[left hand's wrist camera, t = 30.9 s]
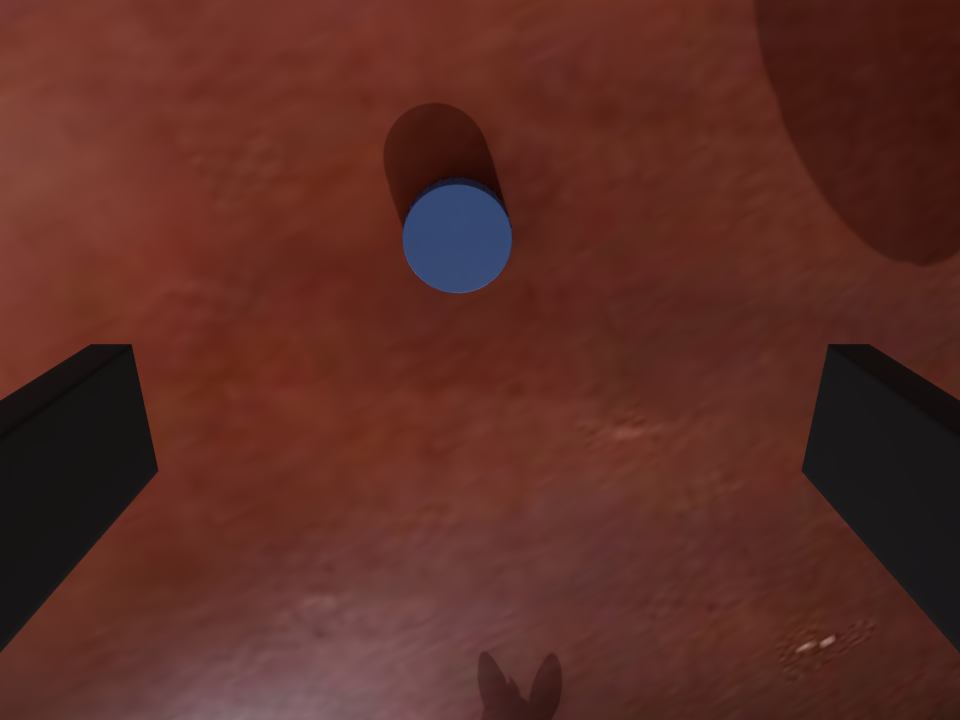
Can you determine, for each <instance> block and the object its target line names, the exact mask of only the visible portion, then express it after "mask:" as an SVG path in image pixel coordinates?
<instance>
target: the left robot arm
mask: <svg viewBox="0 0 960 720" xmlns="http://www.w3.org/2000/svg"><path fill="white" fill-rule="evenodd" d="M157 472H158V467H157V462H156V457H155V453H154V448H153V443H152V439H151V434H150V429H149V424H148V420H147V415H146V410H145V406H144V401H143V396H142V392H141V387H140V382H139V377H138V373H137V368H136V363H135V359H134V354H133V349H132V344H91V345H89V346H87V347H86V348H84V349H83V350H81V351H79V352H78V353H76V354H74V355H73V356H71V357H70V358H68V359H66V360H65V361H63V362H62V363H60V364H58V365H57V366H55V367H54V368H52V369H50V370H49V371H47V372H46V373H44V374H42V375H41V376H39V377H38V378H36V379H34V380H33V381H31V382H30V383H28V384H26V385H25V386H23V387H22V388H20V389H18V390H17V391H15V392H14V393H12V394H10V395H9V396H7V397H6V398H4V399H2V400H1V401H0V653H1V651H2V650H3V649H4V648H5V647H6V646H7V644H8V643H9V642H10V641H11V640H12V639H13V638H14V636H15V635H16V634H17V633H18V632H19V631H20V630H21V628H22V627H23V626H24V625H25V624H26V623H27V621H28V620H29V619H30V618H31V617H32V616H33V615H34V613H35V612H36V611H37V610H38V609H39V608H40V607H41V605H42V604H43V603H44V602H45V601H46V600H47V598H48V597H49V596H50V595H51V594H52V593H53V592H54V590H55V589H56V588H57V587H58V586H59V585H60V584H61V582H62V581H63V580H64V579H65V578H66V577H67V575H68V574H69V573H70V572H71V571H72V570H73V569H74V567H75V566H76V565H77V564H78V563H79V562H80V561H81V559H82V558H83V557H84V556H85V555H86V554H87V553H88V551H89V550H90V549H91V548H92V547H93V546H94V544H95V543H96V542H97V541H98V540H99V539H100V538H101V536H102V535H103V534H104V533H105V532H106V531H107V530H108V528H109V527H110V526H111V525H112V524H113V523H114V521H115V520H116V519H117V518H118V517H119V516H120V515H121V513H122V512H123V511H124V510H125V509H126V508H127V507H128V505H129V504H130V503H131V502H132V501H133V500H134V498H135V497H136V496H137V495H138V494H139V493H140V492H141V490H142V489H143V488H144V487H145V486H146V485H147V484H148V482H149V481H150V480H151V479H152V478H153V477H154V476H155V474H156V473H157ZM802 472H803V473H804V474H805V476H806V477H807V478H808V479H809V480H810V481H811V482H812V484H813V485H814V486H815V487H816V488H817V489H818V490H819V492H820V493H821V494H822V495H823V496H824V497H825V498H826V500H827V501H828V502H829V503H830V504H831V505H832V507H833V508H834V509H835V510H836V511H837V512H838V513H839V515H840V516H841V517H842V518H843V519H844V520H845V521H846V523H847V524H848V525H849V526H850V527H851V528H852V530H853V531H854V532H855V533H856V534H857V535H858V536H859V538H860V539H861V540H862V541H863V542H864V543H865V544H866V546H867V547H868V548H869V549H870V550H871V551H872V553H873V554H874V555H875V556H876V557H877V558H878V559H879V561H880V562H881V563H882V564H883V565H884V566H885V567H886V569H887V570H888V571H889V572H890V573H891V574H892V575H893V577H894V578H895V579H896V580H897V581H898V582H899V584H900V585H901V586H902V587H903V588H904V589H905V590H906V592H907V593H908V594H909V595H910V596H911V597H912V598H913V600H914V601H915V602H916V603H917V604H918V605H919V607H920V608H921V609H922V610H923V611H924V612H925V613H926V615H927V616H928V617H929V618H930V619H931V620H932V621H933V623H934V624H935V625H936V626H937V627H938V628H939V630H940V631H941V632H942V633H943V634H944V635H945V636H946V638H947V639H948V640H949V641H950V642H951V643H952V644H953V646H954V647H955V648H956V649H957V650H958V651H959V653H960V401H959V400H958V399H956V398H954V397H953V396H951V395H950V394H948V393H946V392H945V391H943V390H942V389H940V388H938V387H937V386H935V385H934V384H932V383H930V382H929V381H927V380H926V379H924V378H922V377H921V376H919V375H918V374H916V373H914V372H913V371H911V370H910V369H908V368H906V367H905V366H903V365H902V364H900V363H898V362H897V361H895V360H894V359H892V358H890V357H889V356H887V355H886V354H884V353H882V352H881V351H879V350H877V349H876V348H874V347H873V346H871V345H869V344H828V349H827V354H826V359H825V363H824V368H823V373H822V377H821V382H820V387H819V392H818V396H817V401H816V406H815V410H814V415H813V420H812V424H811V429H810V434H809V439H808V443H807V448H806V453H805V457H804V462H803V467H802Z"/></svg>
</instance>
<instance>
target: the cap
mask: <svg viewBox="0 0 960 720" xmlns="http://www.w3.org/2000/svg"><path fill="white" fill-rule="evenodd" d="M410 208H411V209H410V210H408V212H407V214H406V217H405V219H406V221H405V224H404V226H403V229H402V231H403V240H402V242H403V247H404V252H405V255H406V258H407V260H408V263H409V264H410V266H411V268H412V269H413V271H414V272H415V273H416V274H417V275H418V276H419V277H420V278H421V279H422V280H423V281H424V282H426V283H427V284H429V285H430V286H432V287H434V288H436V289H439V290H442V291H445V292H451V293H464V292H470V291H474V290H477V289H479V288H482V287H483V286H485V285H487V284H488V283H490V282H491V281H493V280H494V279H495V278H496V277H497V276H498V275H499V273H500V272H501V271H502V270H503V268H504V266H505V265H506V263H507V261H508V258H509V255H510V253H511V247H512V242H513V239H512V231H511V230H512V226H511V223H510V221H509V220H508V218H509V215H508V212H507V210H505V209H504V205H503V202H502V200H499V198H498V197H497V196H496V194H495V192H494V191H491V190H490V189H489V188H488V187H486V184H481V183H479V182H477V181H475V179H473V180H471V179H467V178H464V177H463V176H462V178H452V177H450V178H448V179H444V180H441V179H439V181H438V182H435V183H434V184H432V185H431V184H429V185H428V187H427V188H426V189H425V190H423V191H420V193H419V195H418V197H417V198H416V200H413V202H412V204H411V206H410Z"/></svg>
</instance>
